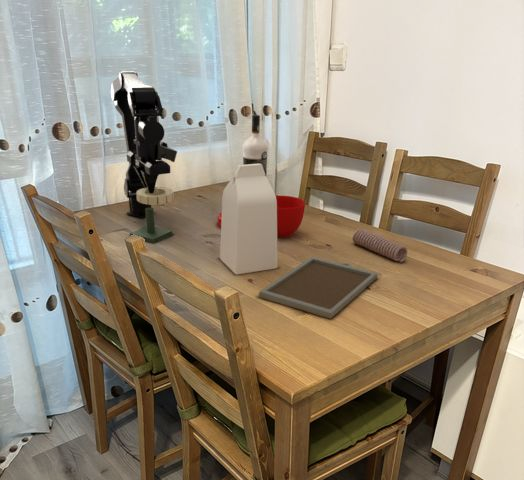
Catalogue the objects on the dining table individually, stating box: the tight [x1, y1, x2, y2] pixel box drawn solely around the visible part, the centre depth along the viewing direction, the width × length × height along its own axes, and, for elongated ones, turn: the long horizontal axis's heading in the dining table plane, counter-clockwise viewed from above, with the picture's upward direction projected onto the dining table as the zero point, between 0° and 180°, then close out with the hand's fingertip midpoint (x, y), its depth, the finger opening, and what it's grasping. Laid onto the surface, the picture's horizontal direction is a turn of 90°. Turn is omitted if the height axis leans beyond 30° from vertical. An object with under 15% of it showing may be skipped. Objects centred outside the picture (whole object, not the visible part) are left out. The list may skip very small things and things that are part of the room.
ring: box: [136, 186, 175, 206], centre depth 160 cm, size 10×10×2 cm
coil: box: [352, 228, 408, 263], centre depth 159 cm, size 5×5×18 cm
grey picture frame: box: [258, 256, 378, 320], centre depth 139 cm, size 19×2×30 cm
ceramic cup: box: [275, 195, 306, 238], centre depth 170 cm, size 13×17×10 cm
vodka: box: [242, 114, 269, 177], centre depth 185 cm, size 9×9×30 cm
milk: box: [219, 164, 279, 275], centre depth 144 cm, size 12×12×26 cm
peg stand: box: [129, 207, 173, 244], centre depth 164 cm, size 9×9×8 cm
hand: (150, 192), depth 163 cm, fingers closed on ring, 2 cm apart
